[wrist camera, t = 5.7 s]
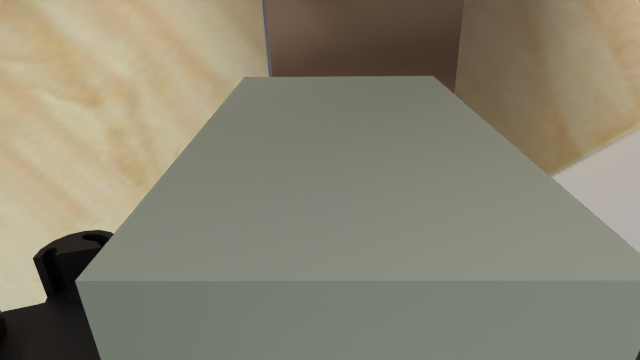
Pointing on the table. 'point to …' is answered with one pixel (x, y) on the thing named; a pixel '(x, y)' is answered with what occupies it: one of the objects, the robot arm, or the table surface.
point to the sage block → (359, 239)
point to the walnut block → (365, 38)
